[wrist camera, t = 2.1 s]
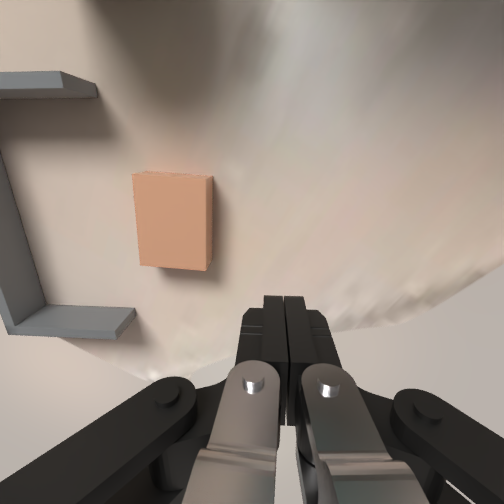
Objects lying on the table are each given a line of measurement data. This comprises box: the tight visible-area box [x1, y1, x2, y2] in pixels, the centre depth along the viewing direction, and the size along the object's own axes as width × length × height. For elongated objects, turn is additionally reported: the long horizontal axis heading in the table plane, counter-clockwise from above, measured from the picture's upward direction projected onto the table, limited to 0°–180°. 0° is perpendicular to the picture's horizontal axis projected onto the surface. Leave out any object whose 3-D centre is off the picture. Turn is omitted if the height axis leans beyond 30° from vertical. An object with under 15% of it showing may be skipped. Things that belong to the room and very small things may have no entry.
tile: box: [132, 171, 213, 271], centre depth 25 cm, size 6×8×3 cm
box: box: [0, 71, 136, 340], centre depth 25 cm, size 11×22×4 cm, turn 0°
